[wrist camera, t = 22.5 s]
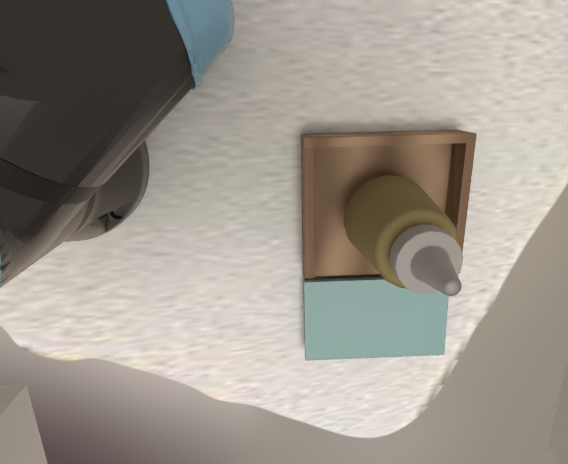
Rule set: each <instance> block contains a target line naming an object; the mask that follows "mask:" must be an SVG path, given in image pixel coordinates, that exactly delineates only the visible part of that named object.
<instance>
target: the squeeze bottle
mask: <svg viewBox="0 0 568 464" xmlns="http://www.w3.org/2000/svg"><path fill="white" fill-rule="evenodd" d="M344 227H345V230H346V234H347V237H348V239H349V241H350V242H351V243H352V244H353V245H354V246H355V247H356V249H357V250H358V251H359V252H360V253H361V254H362V255H363V256H364V257H365V259H366V260H367V261H368V262H369V263H370V264H371V265H372V266H373V267H374V268H375V269H376V270H377V271H378V273H379V274H380V275H381V276H382V277H383V278H384V279H385V280H386V281H387V282H389V283H391V284H393V285H395V286H398V287H400V288H407V289H409V290H411V291H414V292H416V293H433V292H436V291H439V292H441V293H443V294H445V295H447V296H454V295H456V294H458V293H459V291H460V290H461V282H460V280H459V278H458V274H459V272H460V270H461V265H462V261H463V256H462V251H461V247H460V240H459V235H458V230H457V228H456V226H455V225H454V224H453V222H452V221H451V220H450V218H449V217H448V216H447V215H446V214H445V213H444V212H443V211H442V209H441V208H440V207H439V206H438V205H437V204H436V203H435V202H434V201H433V200H432V199H431V198H430V197H429V196H428V194H427V193H426V192H425V191H424V190H423V189H422V188H421V187H420V186H419V185H418V184H417V183H415V182H413V181H411V180H409V179H407V178H405V177H403V176H394V175H384V176H381V177H377V178H374V179H371V180H368V181H367V182H366V183H365V184H363V185H362V186H361V187H360V188H358V189H357V190H356V191H355V192H354V193H353V195H352V197H351V199H350V200H349V202H348V204H347V206H346V208H345V216H344Z"/></svg>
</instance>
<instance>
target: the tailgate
mask: <svg viewBox="0 0 568 464" xmlns="http://www.w3.org/2000/svg"><path fill="white" fill-rule="evenodd" d="M447 309H448V296H447V295H445V294H443V293H441V292H439V291H436V292H433V293H416V292H414V291H411V290H409V289H407V288H400V287H398V286H395V285H393V284H391V283H389V282H387V281H386V280H385V279H384V278H383V277H365V278H338V279H310V280H304V325H305V360H329V359H354V358H379V357H403V356H428V355H444V351H445V337H446V323H447Z"/></svg>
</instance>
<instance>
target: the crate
mask: <svg viewBox="0 0 568 464" xmlns="http://www.w3.org/2000/svg"><path fill="white" fill-rule="evenodd" d="M475 142H476V133H471V132H466V131H461V130H432V131H397V132H362V133H327V134H301V150H302V238H303V276H304V277H306V278H314V276H337V275H365V274H379V273H378V271H377V270H376V269H375V268H374V267H373V266H372V265H371V264H370V263H369V262H368V261H367V260H366V259H365V257H364V256H363V255H362V254H361V253H360V252H359V251H358V250H357V249H356V247H355V246H354V245H353V244H352V243H351V242H350V241H349V239H348V237H347V234H346V230H345V227H344V216H345V208H346V206H347V204H348V202H349V200H350V199H351V197H352V195H353V193H354V192H355V191H356V190H357V189H358V188H360V187H361V186H362V185H363V184H365V183H366V182H367V181H368V180H371V179H374V178H377V177H381V176H384V175H394V176H403V177H405V178H407V179H409V180H411V181H413V182H415V183H417V184H418V185H419V186H420V187H421V188H422V189H423V190H424V191H425V192H426V193H427V194H428V196H429V197H430V198H431V199H432V200H433V201H434V202H435V203H436V204H437V205H438V206H439V207H440V208H441V209H442V211H443V212H444V213H445V214H446V215H447V216H448V217H449V218H450V220H451V221H452V222H453V224H454V225H455V226H456V228H457V230H458V235H459V240H460V247H461V251H463V242H464V234H465V225H466V217H467V209H468V200H469V192H470V184H471V175H472V167H473V159H474V150H475ZM459 273H460V272H459Z"/></svg>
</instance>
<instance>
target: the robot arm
mask: <svg viewBox="0 0 568 464" xmlns="http://www.w3.org/2000/svg"><path fill="white" fill-rule="evenodd" d="M233 29H234V9H233V5H232V2H231V0H0V288H1V287H2V286H3V285H5V284H6V283H7V282H9V281H10V280H12V279H13V278H14V277H16V276H17V275H18V274H20V273H21V272H23V271H24V270H25V269H27V268H28V267H29V266H31V265H32V264H33V263H35V262H36V261H38V260H39V259H40V258H42V257H43V256H44V255H46V254H47V253H49V252H50V251H51V250H53V249H54V248H55V247H57V246H58V245H60V244H61V243H62V242H68V241H80V240H86V239H91V238H94V237H97V236H100V235H102V234H105V233H107V232H109V231H110V230H112V229H114V228H115V227H117V226H118V225H119V224H120V223H122V222H123V221H124V220H125V219H126V218H127V217H128V216H129V215H130V214H131V213H132V212H133V211H134V210H135V209H136V207H137V206H138V204H139V203H140V201H141V199H142V197H143V195H144V192H145V190H146V186H147V182H148V176H149V160H148V153H147V148H146V145H145V142H144V140H145V139H146V138H147V137H148V136H149V134H150V133H151V132H152V131H153V130H154V129H155V128H156V127H157V126H158V125H159V123H160V122H161V121H162V120H163V119H164V118H165V117H166V116H167V115H168V114H169V113H170V111H171V110H172V109H173V108H174V107H175V106H176V105H177V104H178V103H179V102H180V100H181V99H182V98H183V97H184V96H185V95H186V94H187V93H188V92H189V91H190V89H192V90H195V89H196V88H197V87H199V85H200V82H201V80H202V76H203V75H204V73H205V72H206V71H207V70H208V69H209V67H210V66H211V65H212V64H213V63H214V61H215V60H216V59H217V58H218V57H219V55H220V54H221V53H222V52H223V51H224V49H225V48H226V47H227V45H228V44H229V42H230V40H231V38H232V35H233ZM547 451H548V452H549V453H550V455H551V456H552V457H553V459H554V460H555V461H556V463H557V464H568V362H566V365H565V370H564V374H563V379H562V383H561V388H560V392H559V396H558V401H557V406H556V410H555V415H554V419H553V423H552V427H551V432H550V436H549V441H548V446H547ZM0 464H47V461H46V457H45V453H44V449H43V446H42V442H41V438H40V434H39V431H38V427H37V423H36V419H35V416H34V412H33V408H32V405H31V401H30V397H29V393H28V389H27V386H26V385H2V386H0Z"/></svg>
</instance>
